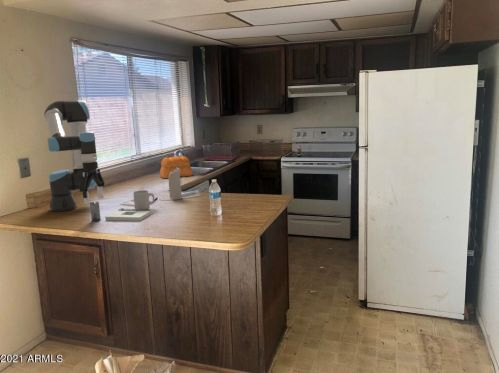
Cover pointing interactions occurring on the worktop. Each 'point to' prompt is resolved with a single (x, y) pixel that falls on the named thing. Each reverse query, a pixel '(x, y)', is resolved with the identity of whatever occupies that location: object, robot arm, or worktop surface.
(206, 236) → the worktop surface
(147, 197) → the mug
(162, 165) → the bread
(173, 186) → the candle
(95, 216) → the grey metal cylinder
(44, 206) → the worktop surface
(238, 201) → the worktop surface
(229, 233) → the worktop surface
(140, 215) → the plate
